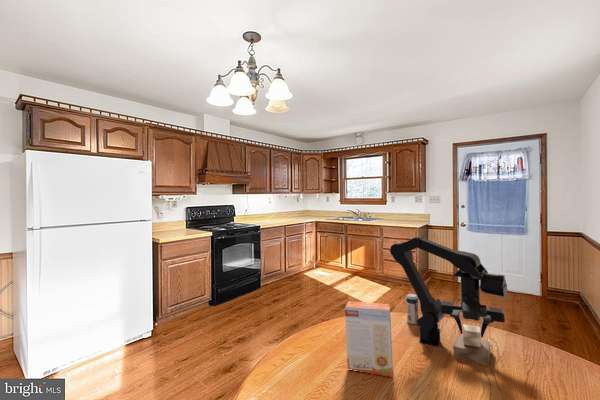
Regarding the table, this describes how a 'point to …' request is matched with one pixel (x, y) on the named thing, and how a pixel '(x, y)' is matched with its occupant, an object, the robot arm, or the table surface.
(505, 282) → the robot arm
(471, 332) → the maple cube
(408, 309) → the white capped bottle
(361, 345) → the cracker box
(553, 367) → the table surface
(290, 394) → the table surface
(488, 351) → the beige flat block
